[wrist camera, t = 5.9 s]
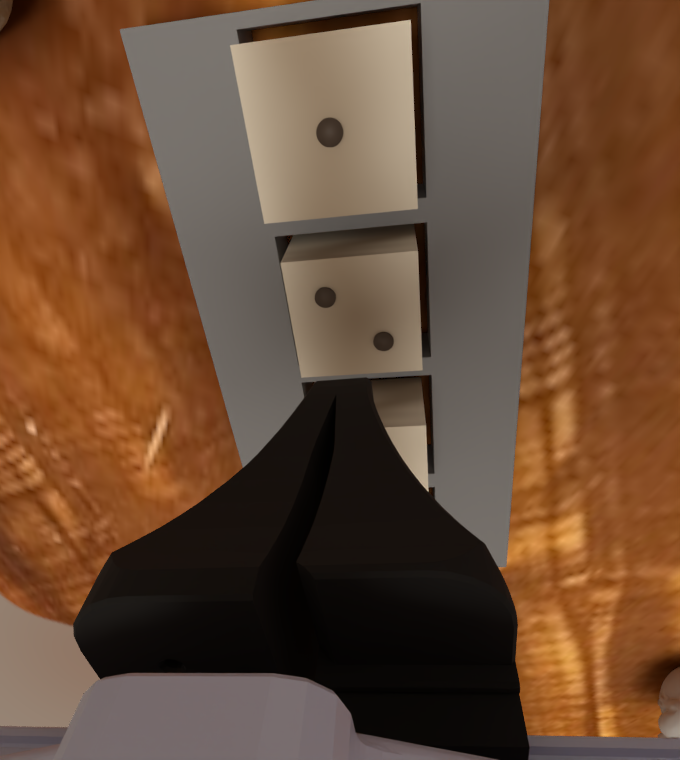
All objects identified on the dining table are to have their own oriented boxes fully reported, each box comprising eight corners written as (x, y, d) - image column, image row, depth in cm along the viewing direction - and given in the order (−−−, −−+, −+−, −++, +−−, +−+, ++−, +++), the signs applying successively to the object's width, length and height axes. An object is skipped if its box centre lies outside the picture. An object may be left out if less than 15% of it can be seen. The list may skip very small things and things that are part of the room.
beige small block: (420, 377, 22) (426, 427, 19) (424, 459, 24) (429, 515, 21) (313, 383, 22) (303, 433, 19) (327, 463, 24) (320, 518, 22)
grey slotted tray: (533, -27, 16) (551, -35, 14) (499, 535, 28) (506, 566, 27) (145, 30, 17) (119, 29, 15) (278, 540, 30) (271, 570, 28)
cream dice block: (413, 221, 19) (418, 252, 17) (417, 329, 22) (422, 372, 19) (294, 232, 20) (279, 264, 17) (311, 336, 22) (301, 379, 19)
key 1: (406, 23, 15) (410, 19, 12) (412, 182, 18) (417, 210, 15) (256, 43, 16) (228, 45, 13) (282, 196, 18) (263, 225, 15)
